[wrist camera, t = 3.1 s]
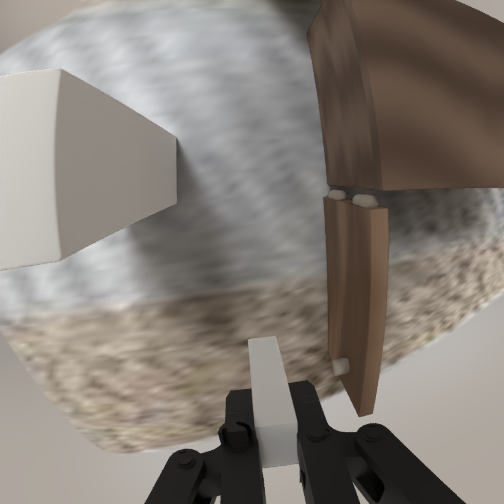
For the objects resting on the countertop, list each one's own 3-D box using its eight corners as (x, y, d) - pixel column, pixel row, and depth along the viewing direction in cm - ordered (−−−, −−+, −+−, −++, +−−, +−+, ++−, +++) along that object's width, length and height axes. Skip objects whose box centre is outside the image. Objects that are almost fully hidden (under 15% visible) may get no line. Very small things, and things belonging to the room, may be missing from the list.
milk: (116, 206, 26) (-95, 288, 4) (114, 141, 24) (-102, 110, 3) (179, 203, 26) (-4, 305, 5) (178, 135, 25) (-4, 33, 3)
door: (335, 188, 26) (387, 196, 16) (339, 351, 30) (372, 413, 20) (309, 190, 26) (350, 199, 16) (317, 355, 30) (344, 420, 20)
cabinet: (306, 33, 22) (341, -30, 12) (446, 53, 23) (509, 26, 12) (327, 184, 26) (382, 190, 15) (465, 179, 26) (539, 188, 16)
